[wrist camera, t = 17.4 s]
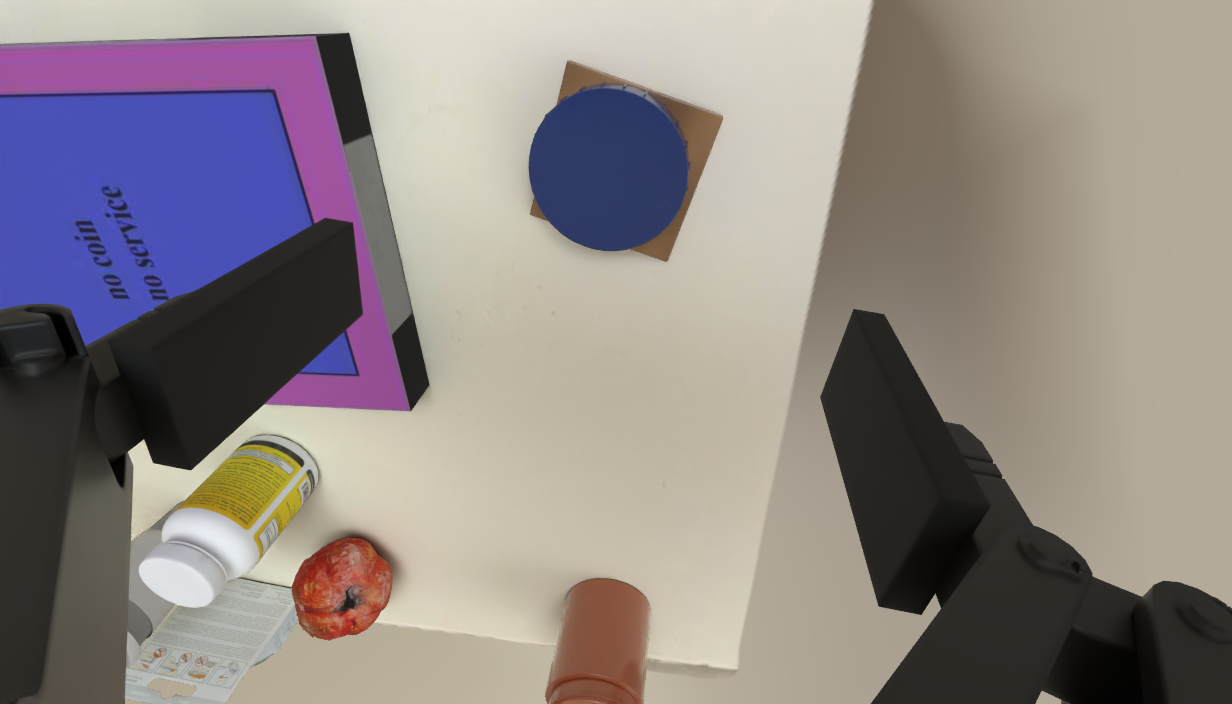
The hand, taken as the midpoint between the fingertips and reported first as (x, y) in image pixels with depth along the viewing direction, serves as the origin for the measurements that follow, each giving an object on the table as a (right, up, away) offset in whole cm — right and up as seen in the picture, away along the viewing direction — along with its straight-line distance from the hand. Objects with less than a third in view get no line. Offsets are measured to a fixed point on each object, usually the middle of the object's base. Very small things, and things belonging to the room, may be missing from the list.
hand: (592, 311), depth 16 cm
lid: (0, +8, +14) cm, 16 cm away
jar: (0, -23, +34) cm, 41 cm away
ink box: (-32, -23, +39) cm, 55 cm away
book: (-27, +6, +21) cm, 35 cm away
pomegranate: (-21, -18, +35) cm, 44 cm away
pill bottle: (-25, -10, +30) cm, 40 cm away
